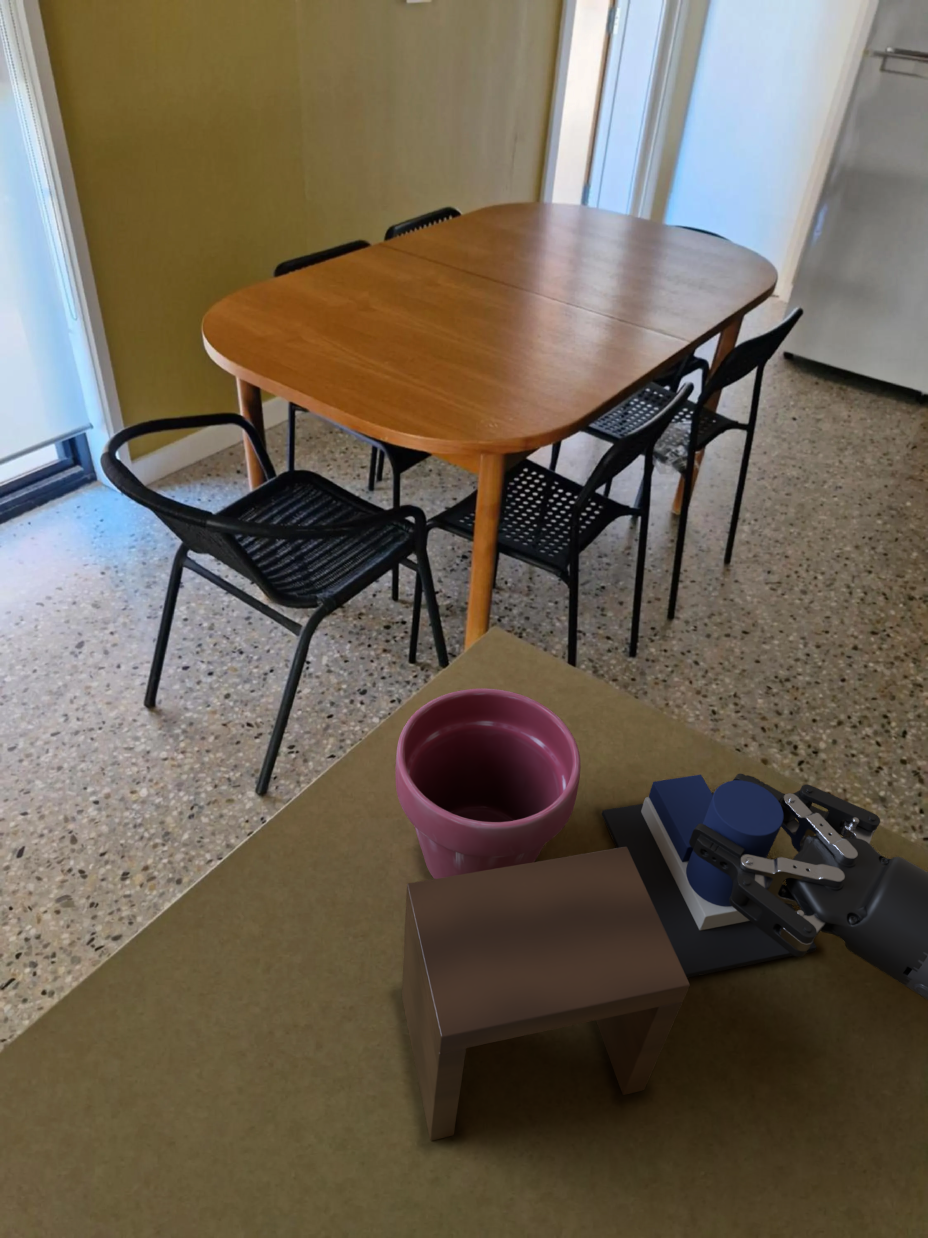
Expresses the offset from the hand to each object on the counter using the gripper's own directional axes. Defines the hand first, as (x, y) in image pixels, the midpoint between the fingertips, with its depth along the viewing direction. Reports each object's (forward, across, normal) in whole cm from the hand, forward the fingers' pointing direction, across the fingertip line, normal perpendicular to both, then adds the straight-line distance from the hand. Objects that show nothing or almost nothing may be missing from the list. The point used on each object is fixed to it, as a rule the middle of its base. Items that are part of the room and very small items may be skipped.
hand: (714, 808), depth 68 cm
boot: (0, -2, +9) cm, 9 cm away
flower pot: (+15, +10, +10) cm, 20 cm away
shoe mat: (-1, -1, +10) cm, 10 cm away
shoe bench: (+3, +20, +10) cm, 22 cm away
